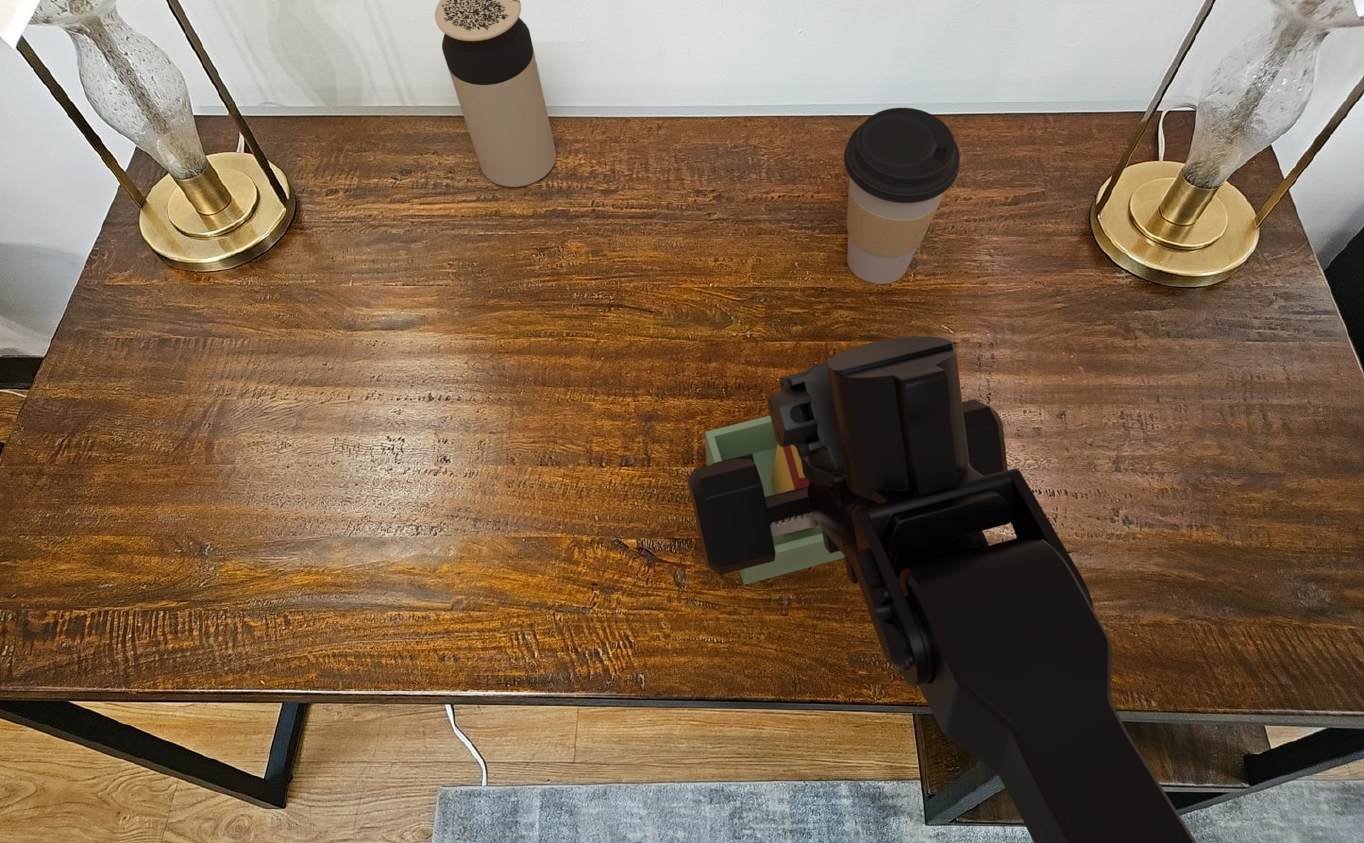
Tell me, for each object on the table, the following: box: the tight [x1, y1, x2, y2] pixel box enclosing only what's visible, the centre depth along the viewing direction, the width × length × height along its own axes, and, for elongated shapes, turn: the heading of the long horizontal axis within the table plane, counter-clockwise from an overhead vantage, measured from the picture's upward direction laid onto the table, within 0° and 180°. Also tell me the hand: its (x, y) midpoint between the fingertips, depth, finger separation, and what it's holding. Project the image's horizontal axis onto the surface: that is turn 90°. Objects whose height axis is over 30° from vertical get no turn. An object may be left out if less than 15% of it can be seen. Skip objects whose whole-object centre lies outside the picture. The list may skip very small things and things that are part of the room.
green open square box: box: [704, 415, 845, 586], centre depth 71 cm, size 11×11×6 cm
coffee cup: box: [843, 107, 961, 285], centre depth 78 cm, size 9×9×15 cm
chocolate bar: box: [771, 444, 816, 534], centre depth 66 cm, size 3×5×14 cm, turn 11°
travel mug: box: [434, 0, 557, 188], centre depth 85 cm, size 8×8×18 cm
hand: (809, 446), depth 61 cm, fingers open, 9 cm apart
